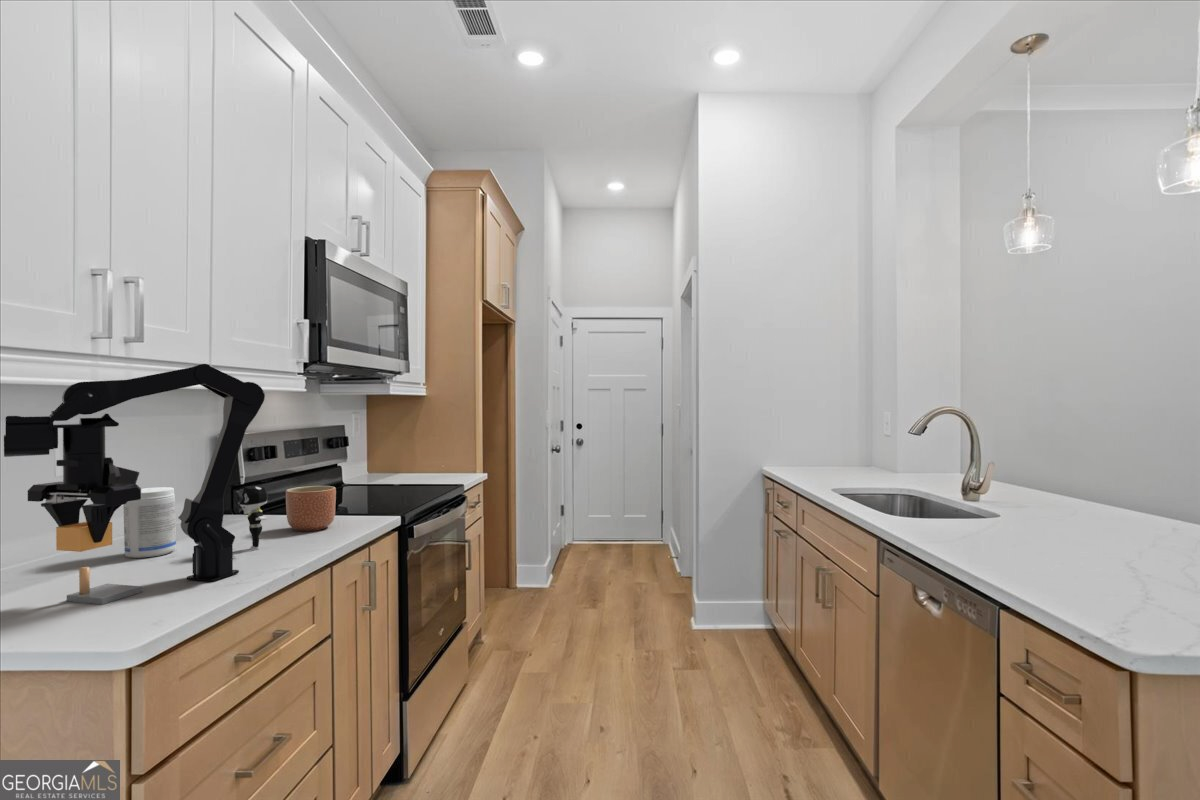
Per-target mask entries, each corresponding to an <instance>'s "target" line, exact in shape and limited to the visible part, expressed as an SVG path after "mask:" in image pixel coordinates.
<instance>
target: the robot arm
mask: <svg viewBox="0 0 1200 800" xmlns="http://www.w3.org/2000/svg"><path fill="white" fill-rule="evenodd" d="M198 385H200V386H201V387H203V388H205V389H207V390H209V391H210V392H212V393H214V394H215V395H217V396H218V397H219V396H220V397H221V398H223V400H224V401H223V409H222V410H223V411H222V414H223V420H222V421H223V422H222V426H221V429H220V432H219V435H218V437H217V440H216V443H215V446H214V450H213V453H212V455H211V458H210V461H209V464H208V466H207V470H206V473H205V475H204V479H203V481H202V484H201V486H200V489H199V491H198V493H197V494H196V496H195V497H194V498H193V499H190V498H184V499H185V500H184V502H183V503H184V504H183V509H182V512H181V514H180V515H179V516H178V519H179V520H180V528H181V530H182V532H183V533H184V534H185V535H186V536H188V537H189V538H190V539H192V540H193V542H194V544H196V545H194V546H193V552H192V575H188V576H186V580H191V581H202V582H203V581H204V582H214V581H218V580H222V579H224V578H227V577H230V576H234V575H236V574H238V573H240V569H239V570H238V569H233V562H234V561H233V559H234V558H233V553H234V552H233V544H234V541H235V538H236V536H235V535H234V534H233V533H231V532H230V531H228V530H227V529H226V528H225V527H223V522H224V514H225V494H226V491H227V488H228V485H229V482H230V479H231V476H232V473H233V470H234V467H235V464H236V461H237V458H238V455H239V452H240V449H241V446H242V444H243V440H244V437H245V435H246V431H247V428H248V427H249V425H250V424H251V422H252V421H253V420H254V419H255V417H256V416H257V414H258V413H259V410H260V409H261V407H262V405H263V404H264V403H265V402H264V401H265V398H266V394H265V392H264V389H263V388H262V387H261V385H259V384H258V383H255V382H251V381H245V382H244V381H242V380H240V379H239V378H237V377H234V376H233V375H230V374H228V373H225V372H224V371H223V372H222V371H221V370H219V369H217V368H215V367H214V366H213V365H211V364H208V363H201V364H196V365H193V366H191V367H185V368H181V369H177V370H176V369H175V370H169V371H166V372H160V373H155V374H150V375H144V376H141V377H140V376H139V377H134V378H129V379H116V380H114V379H113V380H94V381H93V380H92V381H80V382H79V381H78V382H76V383H73V384H71V385H69V386H68V387H66V389H65V390H64V391H63V393H62V397H61V401H62V402H61V403H60V404H59V405H58V406H57V408H56V409H54V410H51V412H50V413H51V414H49V415H48V416H46V415H45V416H42V415H41V416H22V415H21V416H20V415H7V416H5V434H4V435H3V457H4V458H8V457H27V456H28V457H29V456H30V457H31V456H44V455H45V456H47V455H50V450H54V449H56V450H57V449H58V448H59V429H62V459H56V467H62V470H63V471H62V472H63V473H62V477H63V478H62V480H63V481H54V482H46V483H38V484H33V485H32V486H31V487H30V488H28V490H27V502H42V503H40V507H43V508H44V509H45V510H46V512H48V514H49V515H50V516H51V517H52V519H53V520H54V521H55V523H56V524H57V527H60V526H65V525H70V524H76V523H80V513H81V509H82V512H83V515H84V519H85V522H87V525H88V528H89V531H90V534H91V537H92V539H93V542H94V543H98V542H101V541H102V539H103V537H104V534H105V532H106V529H107V527H108V524H109V522H111V519H112V518H113V515H114V513H115V511H117V510H118V509H119V508H121V506H123V504H126V503H127V502H128V501H133V500H139V499H141V489H142V487H140V486H139V485H138V484H137V481H138V478H139V475H140V471H138V470H137V471H136V470H132V469H128V468H125V467H124V468H123V467H121V466H120V467H119V466H116V465H115V464H114V459H112V457H106V427H107V428H108V427H109V428H110V427H113V428H114V427H118V426H120V423H119V422H118V421H116V420H115V419H113V418H112V417H111V415H110V414H109V413H104V414H103V415H102V416H100V417H79V423H72V424H69V423H67V424H54V422H64V421H65V422H66V421H69V420H71V419H73V418H74V417H76V416H78V415H84V416H85V415H93V414H96V413H99V412H101V411H104V410H106V409H108V408H112V407H115V406H117V405H119V404H120V405H121V404H123V403H125V402H127V401H130V400H132V399H137V398H141V397H148V396H151V395H156V394H160V393H165V392H170V391H175V390H180V389H184V388H189V387H193V386H198ZM89 499H90V501H91V502H92V503H90V504H85V503H86V502H87V501H88V500H89ZM44 500H45V502H43V501H44Z"/></svg>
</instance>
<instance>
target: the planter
mask: <svg viewBox="0 0 1200 800" xmlns="http://www.w3.org/2000/svg"><path fill="white" fill-rule="evenodd" d="M336 500H337V488H336V487H335V486H331V485H310V486H307V485H306V486H298V487H292V488H288V489H286V490H285V509H286V511H285V512H286V521H287V523H288V525H289V527H291V528H292V529H293V530H295V531H298V532H313V531H319V530H323V529H326V528H328V527H329V526H330V525H331V524H332V523H333V522H334V520H335V517H336Z"/></svg>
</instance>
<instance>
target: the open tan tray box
mask: <svg viewBox="0 0 1200 800" xmlns="http://www.w3.org/2000/svg"><path fill="white" fill-rule="evenodd" d="M55 530H56V531H55V532H56V537H55V538H56V539H55V540H56V542H55V545H56V546H55V547H56V551H62V552H63V551H64V552H75V553H76V552H77V553H78V552H79V553H81V552H86V551H90V550H96V549H99V548H104V547H108V546H113V521H110V522H109V524H108V527H107V529H106V532H105V534H104V537H103V539H102V541H101V542H98V543H94V542H93V539H92V537H91V534H90V531H89V528H88V525H87V521H82V522H79V523H76V524H70V525H65V526H60V527H59V526H57V527H55Z"/></svg>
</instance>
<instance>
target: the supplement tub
mask: <svg viewBox="0 0 1200 800" xmlns="http://www.w3.org/2000/svg"><path fill="white" fill-rule="evenodd" d="M122 506H123V507H122V509H123V533H124V535H123V538H124V539H123V540H124V541H123V543H124V544H123V545H124V546H123V547H124V555H125V557H127V558H130V559H143V558H153V557H160V556H163V555H168V554H170V553H172V552H174V551H175V550H176V548H177V531H176V530H177V529H176V525H177V524H176V522H177V521H176V496H175V489H174V487H169V486H161V487H159V486H158V487H147V488H145V487H144V488H141V499H139V500H133V501H128V502H127V503H126V504H123V505H122Z"/></svg>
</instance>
